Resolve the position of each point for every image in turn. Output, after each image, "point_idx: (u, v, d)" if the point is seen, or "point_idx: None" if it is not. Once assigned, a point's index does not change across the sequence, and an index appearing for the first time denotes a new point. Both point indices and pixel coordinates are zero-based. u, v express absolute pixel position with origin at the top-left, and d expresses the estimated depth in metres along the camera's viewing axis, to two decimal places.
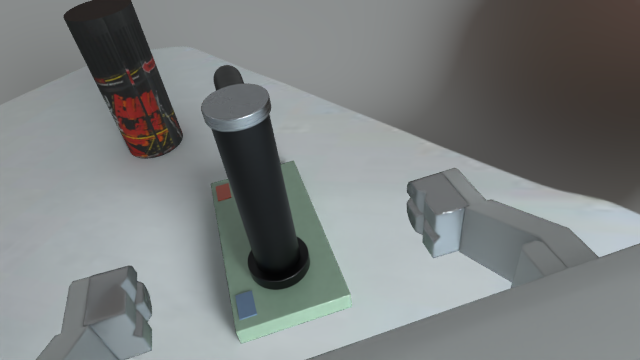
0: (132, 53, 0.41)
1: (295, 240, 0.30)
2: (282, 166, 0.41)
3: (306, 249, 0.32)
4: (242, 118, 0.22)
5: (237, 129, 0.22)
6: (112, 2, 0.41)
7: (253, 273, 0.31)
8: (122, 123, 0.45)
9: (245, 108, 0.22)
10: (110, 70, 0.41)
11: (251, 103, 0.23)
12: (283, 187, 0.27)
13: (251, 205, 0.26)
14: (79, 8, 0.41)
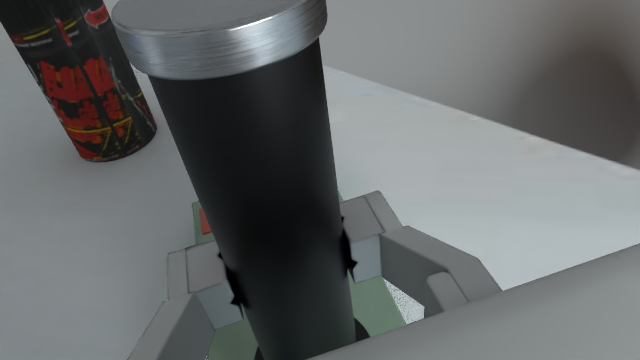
0: None
1: (354, 336, 0.14)
2: None
3: None
4: (240, 29, 0.06)
5: (224, 71, 0.07)
6: None
7: None
8: (59, 108, 0.29)
9: (251, 2, 0.07)
10: (29, 20, 0.25)
11: None
12: (341, 234, 0.11)
13: (263, 283, 0.10)
14: None
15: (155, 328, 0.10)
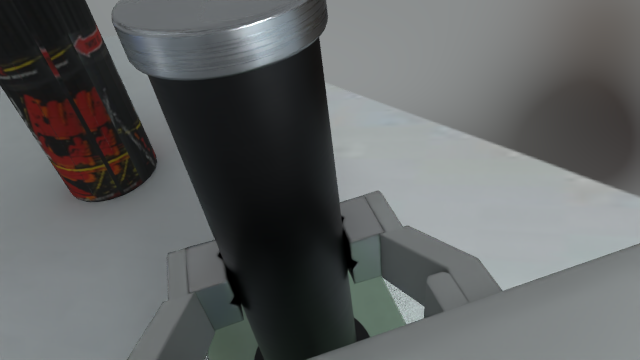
0: (52, 18, 0.22)
1: (354, 336, 0.14)
2: None
3: None
4: (241, 29, 0.06)
5: (224, 71, 0.07)
6: None
7: None
8: (46, 145, 0.26)
9: (251, 2, 0.07)
10: (10, 50, 0.22)
11: None
12: (341, 235, 0.11)
13: (263, 284, 0.10)
14: None
15: (155, 328, 0.10)
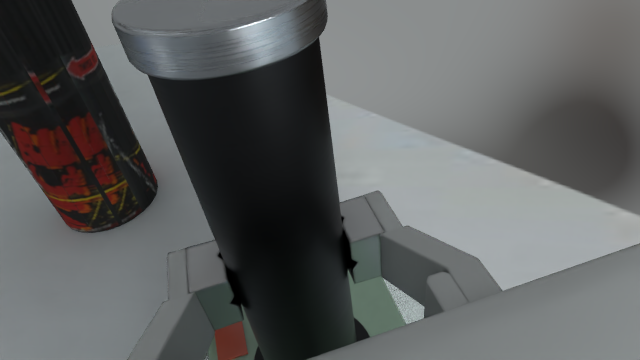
0: (42, 39, 0.20)
1: (354, 336, 0.14)
2: None
3: None
4: (241, 29, 0.06)
5: (224, 71, 0.07)
6: None
7: None
8: (37, 174, 0.24)
9: (251, 2, 0.07)
10: None
11: None
12: (341, 235, 0.11)
13: (264, 284, 0.10)
14: None
15: (155, 328, 0.10)
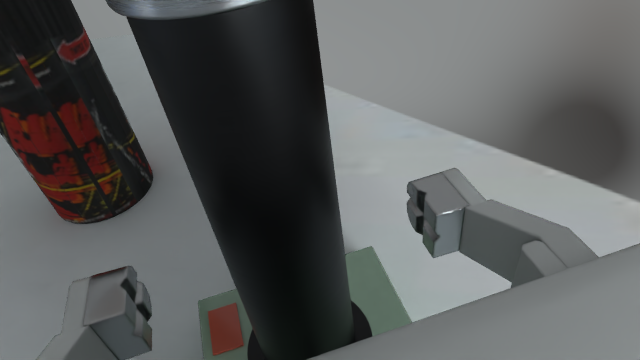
0: (31, 21, 0.19)
1: (351, 316, 0.14)
2: (350, 260, 0.20)
3: (367, 327, 0.16)
4: None
5: (208, 10, 0.06)
6: None
7: None
8: (28, 162, 0.23)
9: None
10: None
11: None
12: (336, 205, 0.11)
13: (255, 255, 0.10)
14: None
15: None
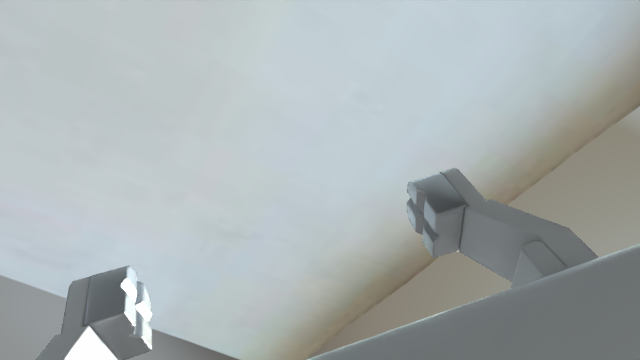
0: None
1: None
2: None
3: None
4: None
5: None
6: None
7: None
8: None
9: None
10: None
11: None
12: None
13: None
14: None
15: None
